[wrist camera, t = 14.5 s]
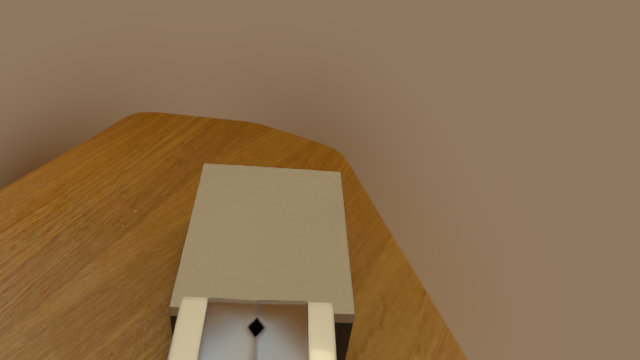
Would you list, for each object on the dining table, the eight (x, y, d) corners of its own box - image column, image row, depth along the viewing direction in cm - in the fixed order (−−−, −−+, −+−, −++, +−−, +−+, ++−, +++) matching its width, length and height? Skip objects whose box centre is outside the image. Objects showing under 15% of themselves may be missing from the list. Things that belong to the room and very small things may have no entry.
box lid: (204, 171, 50) (203, 162, 49) (339, 180, 51) (340, 171, 50) (170, 316, 37) (169, 306, 36) (353, 323, 38) (355, 314, 37)
